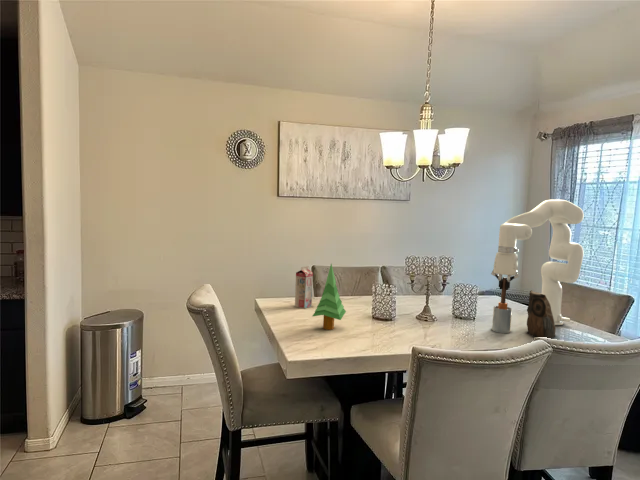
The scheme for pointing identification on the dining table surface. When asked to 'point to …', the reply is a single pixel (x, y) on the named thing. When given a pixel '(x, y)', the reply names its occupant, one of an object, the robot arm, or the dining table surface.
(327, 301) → the decorative tree
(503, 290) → the orange and brown rod
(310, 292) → the juice carton
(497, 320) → the grey cup
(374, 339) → the dining table surface
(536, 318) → the owl
